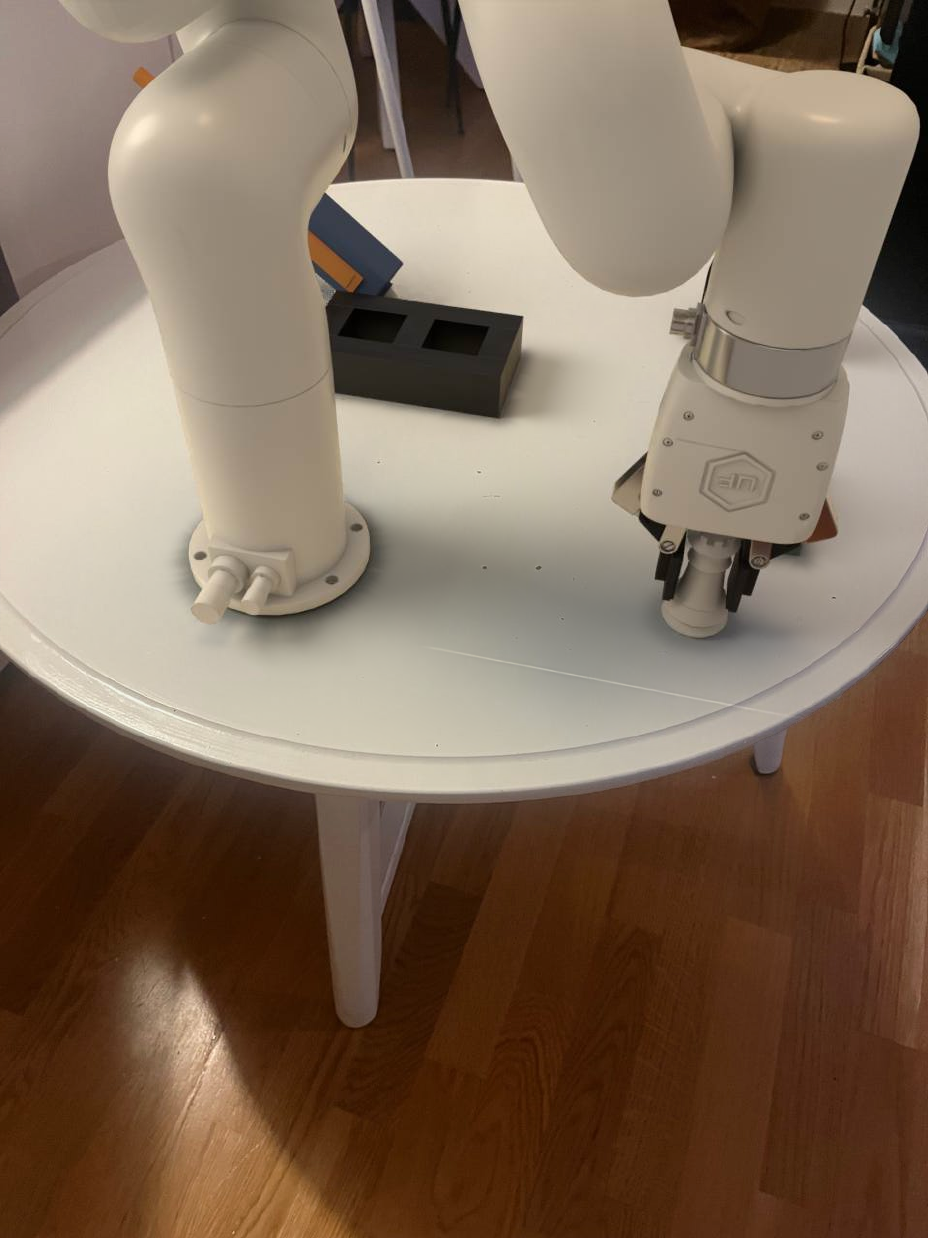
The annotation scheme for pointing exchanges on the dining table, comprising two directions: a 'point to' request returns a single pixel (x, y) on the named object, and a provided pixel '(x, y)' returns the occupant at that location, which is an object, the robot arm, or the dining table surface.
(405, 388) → the holder
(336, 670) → the dining table surface
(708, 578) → the rook chess piece
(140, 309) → the dining table surface
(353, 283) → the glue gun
